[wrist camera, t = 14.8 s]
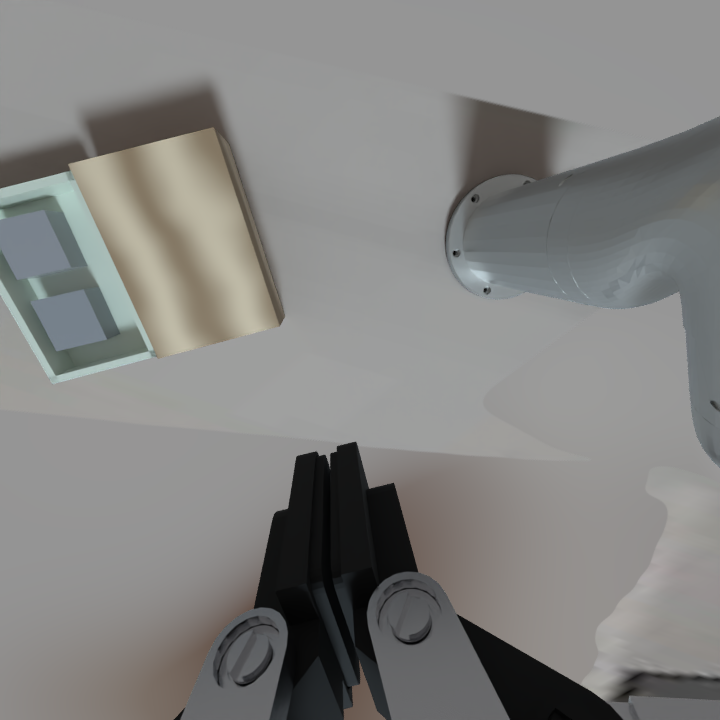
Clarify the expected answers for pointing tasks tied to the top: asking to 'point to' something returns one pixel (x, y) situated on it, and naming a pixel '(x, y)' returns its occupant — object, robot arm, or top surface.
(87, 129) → the top surface
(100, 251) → the tray
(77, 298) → the tile
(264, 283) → the board
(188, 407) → the top surface
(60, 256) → the tile
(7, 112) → the top surface
